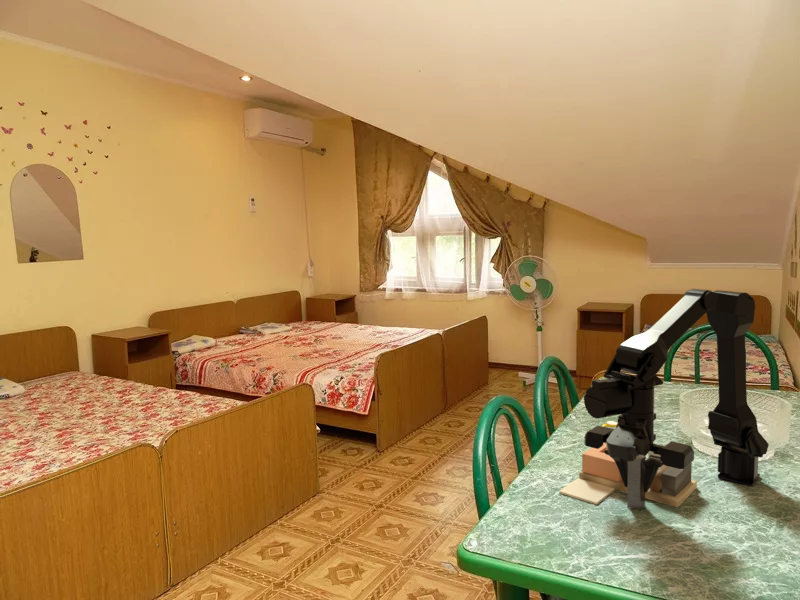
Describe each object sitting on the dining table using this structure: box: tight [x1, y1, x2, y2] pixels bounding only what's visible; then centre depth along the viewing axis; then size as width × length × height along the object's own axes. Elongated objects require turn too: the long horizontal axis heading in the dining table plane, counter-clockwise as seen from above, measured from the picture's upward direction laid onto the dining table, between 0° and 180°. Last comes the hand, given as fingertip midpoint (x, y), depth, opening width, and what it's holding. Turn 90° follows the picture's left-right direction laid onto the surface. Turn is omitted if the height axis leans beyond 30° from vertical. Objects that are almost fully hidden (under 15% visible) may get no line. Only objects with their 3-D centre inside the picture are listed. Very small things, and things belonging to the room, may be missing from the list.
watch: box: [602, 420, 618, 428], centre depth 142 cm, size 6×3×6 cm, turn 70°
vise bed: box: [578, 461, 698, 508], centre depth 121 cm, size 20×11×6 cm, turn 46°
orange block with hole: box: [581, 443, 622, 482], centre depth 125 cm, size 8×10×4 cm
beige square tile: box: [559, 478, 616, 505], centre depth 119 cm, size 8×8×1 cm
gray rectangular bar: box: [626, 455, 647, 511], centre depth 111 cm, size 2×2×10 cm
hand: (636, 489), depth 111 cm, fingers open, 3 cm apart
